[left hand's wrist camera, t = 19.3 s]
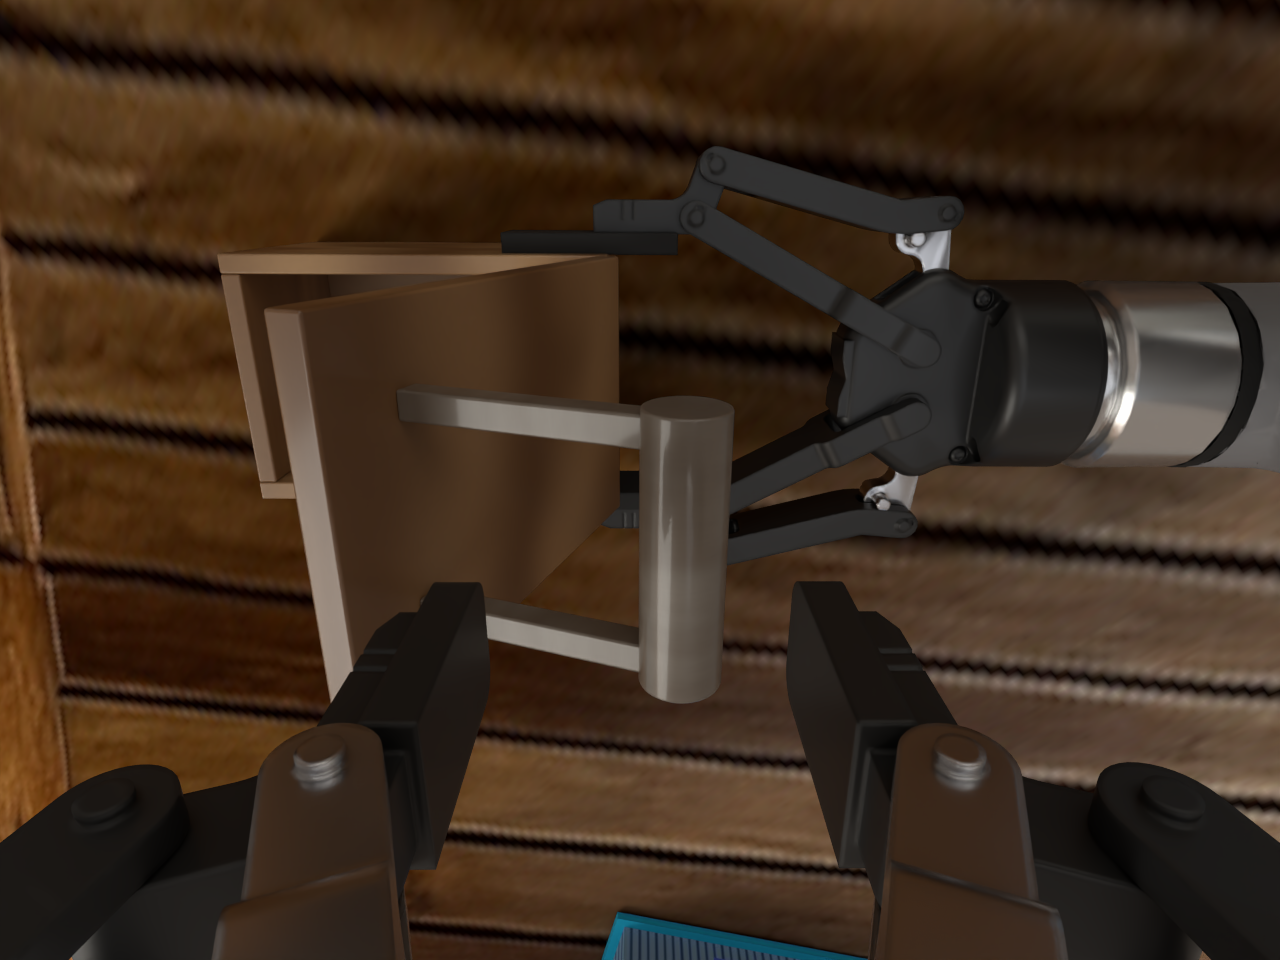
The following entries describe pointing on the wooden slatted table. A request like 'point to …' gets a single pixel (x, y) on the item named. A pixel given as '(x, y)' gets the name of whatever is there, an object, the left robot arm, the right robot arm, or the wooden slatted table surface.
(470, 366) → the lid
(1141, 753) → the wooden slatted table surface
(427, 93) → the wooden slatted table surface
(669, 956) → the model building
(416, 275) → the chest
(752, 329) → the wooden slatted table surface
